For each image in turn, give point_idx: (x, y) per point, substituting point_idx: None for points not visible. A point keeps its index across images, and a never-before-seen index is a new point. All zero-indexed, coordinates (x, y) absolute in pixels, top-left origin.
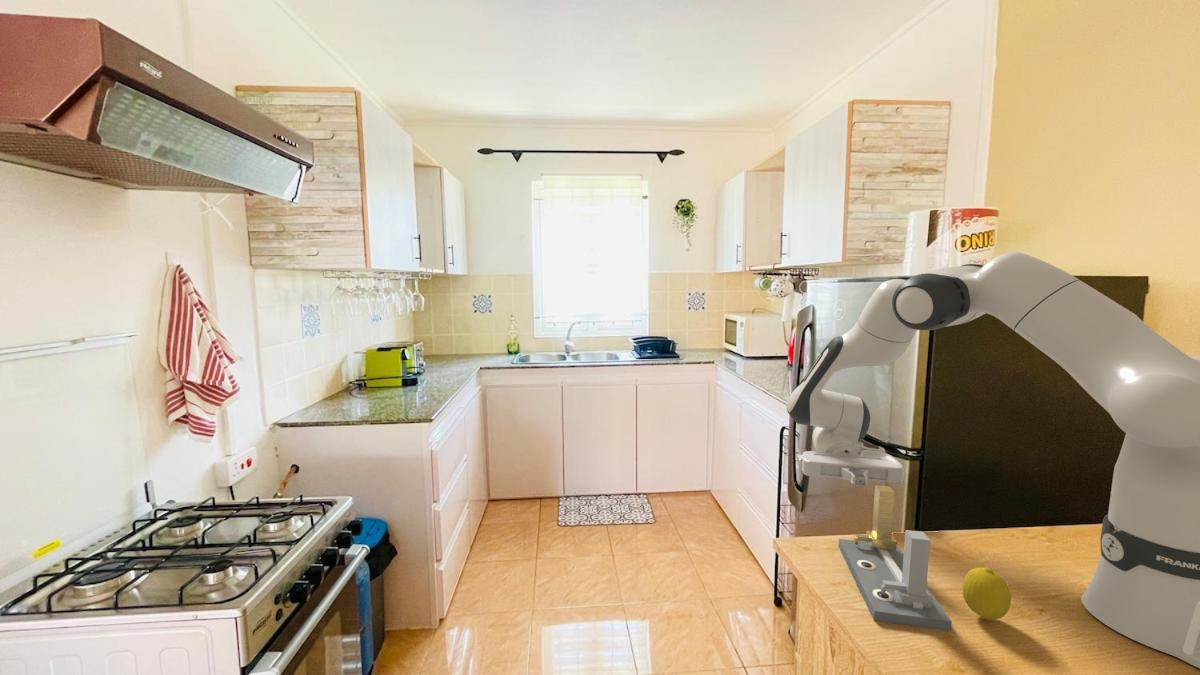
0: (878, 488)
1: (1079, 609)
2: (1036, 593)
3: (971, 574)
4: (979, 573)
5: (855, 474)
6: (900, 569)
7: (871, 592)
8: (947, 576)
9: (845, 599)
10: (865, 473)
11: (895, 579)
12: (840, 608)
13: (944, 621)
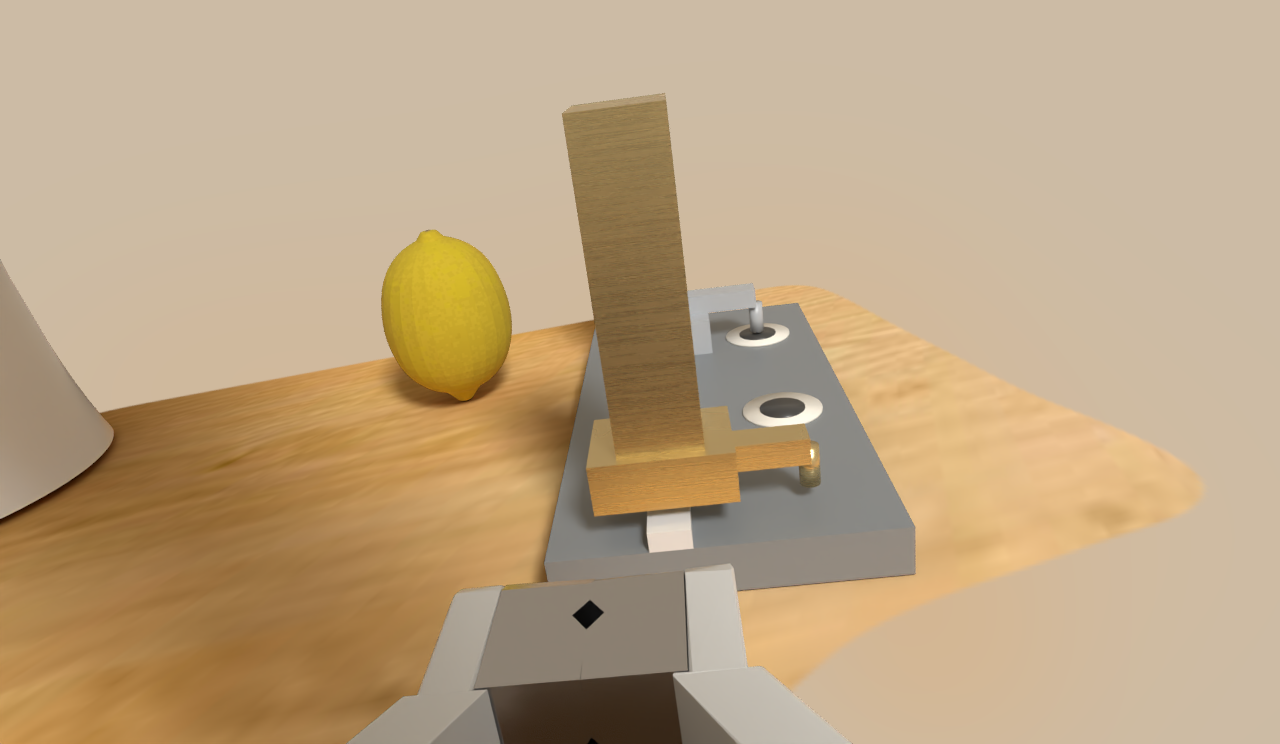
0: (659, 97)
1: (78, 494)
2: (125, 522)
3: (479, 255)
4: (462, 242)
5: (650, 639)
6: None
7: (792, 335)
8: (413, 518)
9: (877, 355)
10: (382, 737)
11: None
12: (892, 334)
13: None
